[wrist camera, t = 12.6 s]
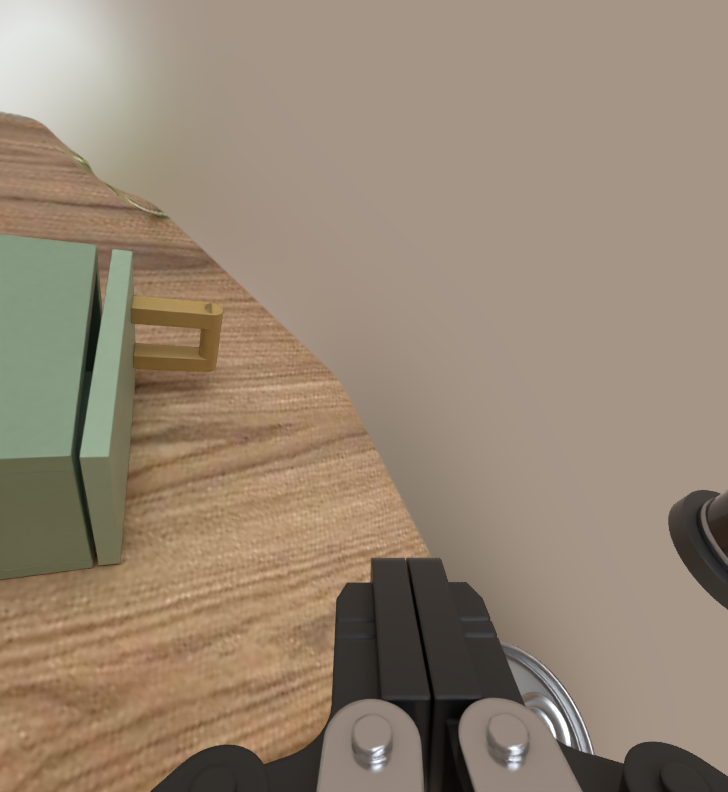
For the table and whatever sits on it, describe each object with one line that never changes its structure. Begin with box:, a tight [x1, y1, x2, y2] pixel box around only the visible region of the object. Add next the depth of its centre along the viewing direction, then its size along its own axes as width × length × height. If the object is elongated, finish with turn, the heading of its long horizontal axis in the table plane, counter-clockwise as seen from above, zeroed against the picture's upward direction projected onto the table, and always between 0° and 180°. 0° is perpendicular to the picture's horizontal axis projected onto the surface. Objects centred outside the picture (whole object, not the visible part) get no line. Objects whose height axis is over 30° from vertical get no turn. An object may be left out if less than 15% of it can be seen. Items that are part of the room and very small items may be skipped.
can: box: [499, 640, 595, 755], centre depth 18 cm, size 6×6×12 cm
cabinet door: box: [79, 249, 223, 565], centre depth 27 cm, size 6×14×10 cm, turn 14°
